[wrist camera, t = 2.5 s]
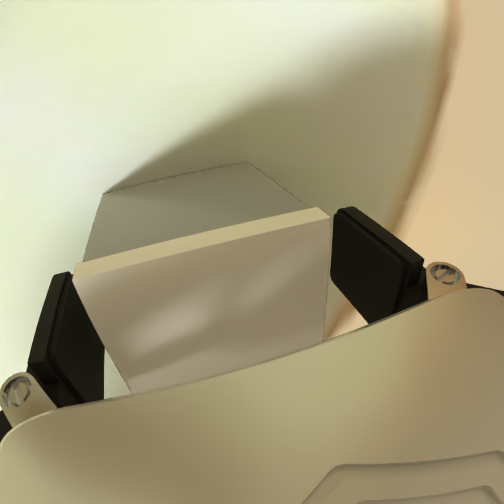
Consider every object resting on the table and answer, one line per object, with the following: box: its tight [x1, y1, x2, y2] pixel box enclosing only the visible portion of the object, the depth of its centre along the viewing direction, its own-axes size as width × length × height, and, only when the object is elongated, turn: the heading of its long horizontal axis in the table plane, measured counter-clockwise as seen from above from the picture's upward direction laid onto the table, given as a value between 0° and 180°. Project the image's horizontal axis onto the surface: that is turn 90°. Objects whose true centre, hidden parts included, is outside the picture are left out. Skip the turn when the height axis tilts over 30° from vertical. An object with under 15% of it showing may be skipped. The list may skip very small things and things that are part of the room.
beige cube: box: [72, 162, 331, 394], centre depth 11 cm, size 6×6×6 cm
